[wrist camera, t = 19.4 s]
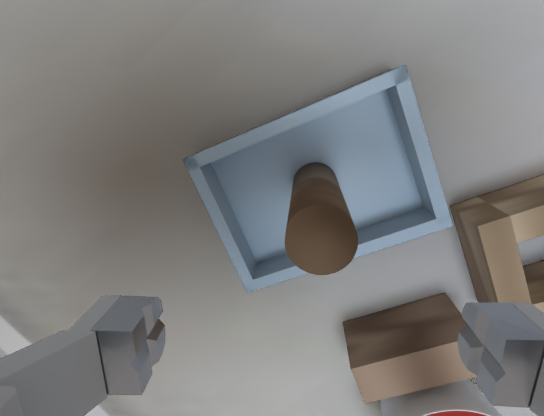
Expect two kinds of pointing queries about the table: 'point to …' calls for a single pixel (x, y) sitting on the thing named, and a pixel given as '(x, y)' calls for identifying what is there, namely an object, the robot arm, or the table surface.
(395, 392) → the block
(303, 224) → the dowel
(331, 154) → the tray
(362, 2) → the table surface
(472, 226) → the socket block
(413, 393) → the candle
